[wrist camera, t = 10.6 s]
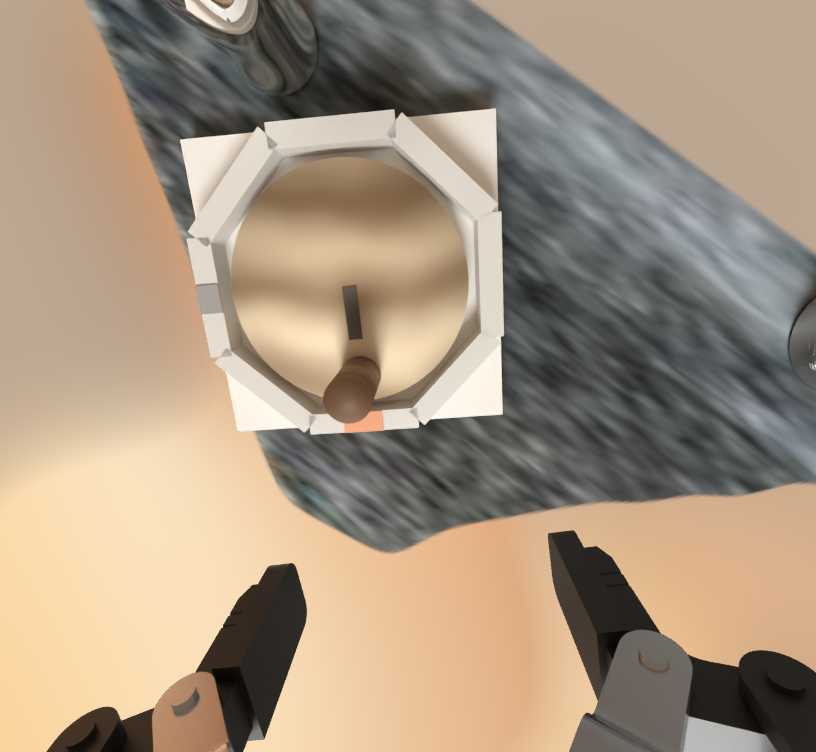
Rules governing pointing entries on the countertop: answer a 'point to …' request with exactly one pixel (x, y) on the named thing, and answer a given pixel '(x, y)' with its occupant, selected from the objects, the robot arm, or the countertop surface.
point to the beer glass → (258, 39)
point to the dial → (349, 281)
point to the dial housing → (415, 156)
